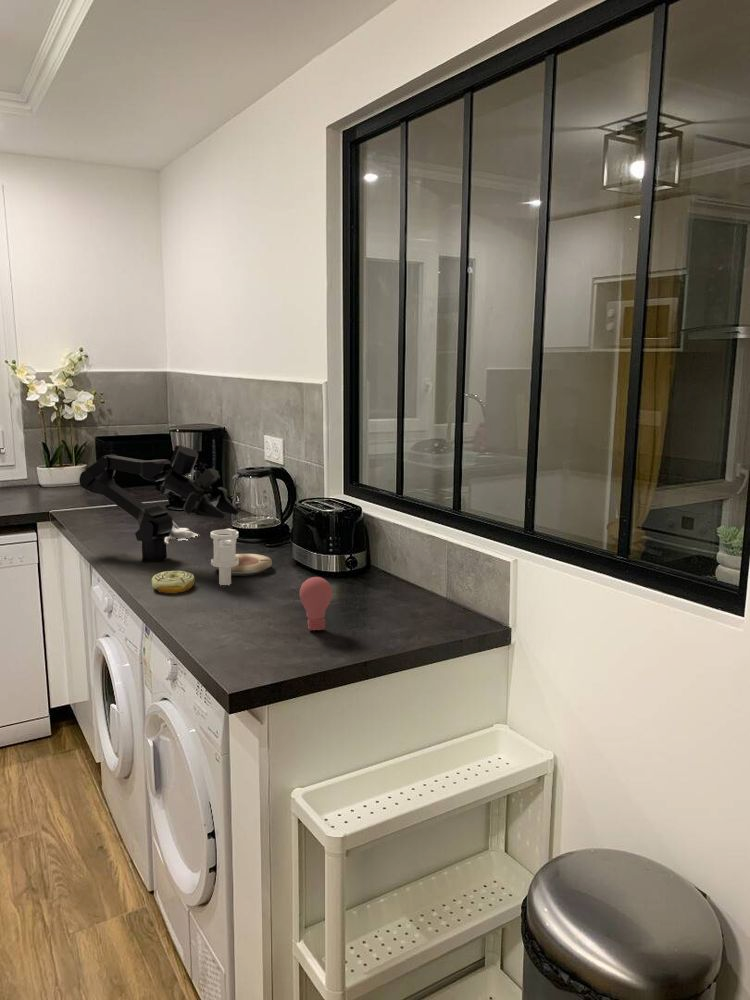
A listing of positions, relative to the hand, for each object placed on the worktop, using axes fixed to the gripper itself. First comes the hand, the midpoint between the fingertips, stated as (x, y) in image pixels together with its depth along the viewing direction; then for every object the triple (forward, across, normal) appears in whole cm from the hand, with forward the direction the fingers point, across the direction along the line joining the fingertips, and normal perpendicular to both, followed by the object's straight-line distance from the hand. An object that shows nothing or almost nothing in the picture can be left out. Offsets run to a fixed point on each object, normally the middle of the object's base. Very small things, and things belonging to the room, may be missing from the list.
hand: (231, 514), depth 207 cm
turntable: (+9, +1, +11) cm, 14 cm away
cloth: (-25, +32, +27) cm, 49 cm away
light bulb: (+41, -38, +1) cm, 56 cm away
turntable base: (+10, +2, +13) cm, 16 cm away
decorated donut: (+1, -19, +19) cm, 27 cm away
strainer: (+11, -12, +14) cm, 21 cm away
